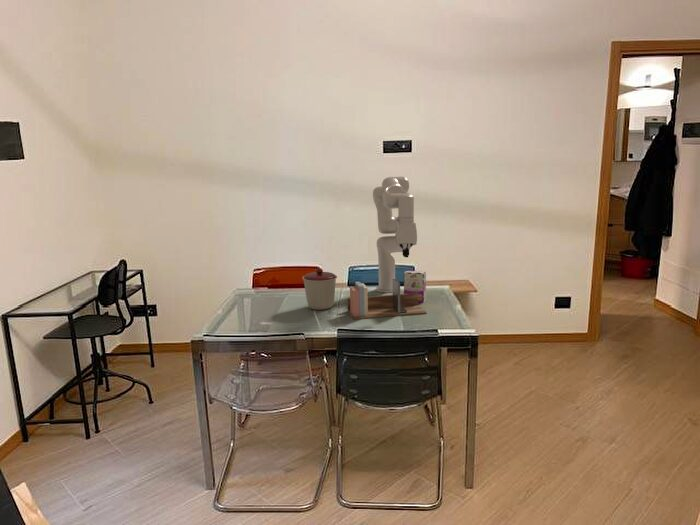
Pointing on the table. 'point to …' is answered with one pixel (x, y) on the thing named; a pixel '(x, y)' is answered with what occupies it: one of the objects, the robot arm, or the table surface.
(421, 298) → the candy bar box
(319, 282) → the canister
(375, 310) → the shelf
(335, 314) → the table surface
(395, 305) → the bookend
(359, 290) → the books
